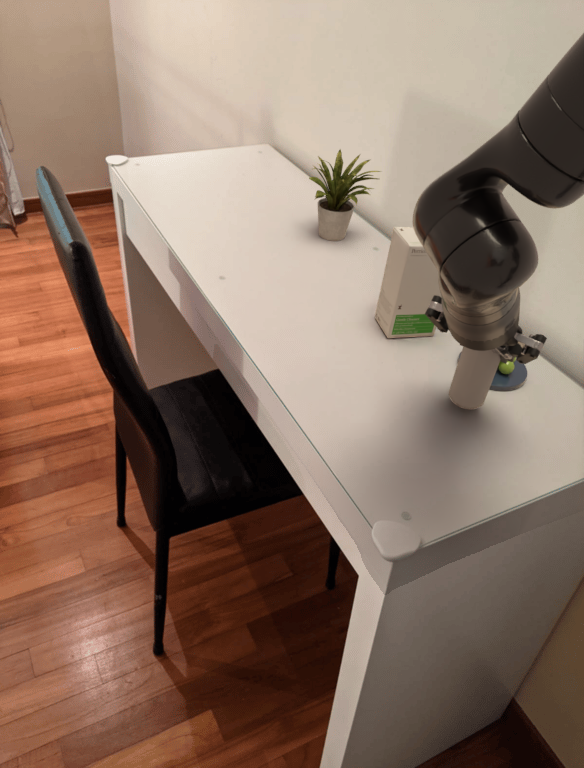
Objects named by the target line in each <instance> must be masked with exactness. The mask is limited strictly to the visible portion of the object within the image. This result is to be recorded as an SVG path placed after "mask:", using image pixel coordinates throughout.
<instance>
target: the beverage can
mask: <svg viewBox="0 0 584 768" xmlns="http://www.w3.org/2000/svg"><path fill="white" fill-rule="evenodd" d="M461 351H462V352H461ZM461 351H460V352H461V355H460V358H459V361H458V364H457V365H456V368H455V371H454V374H453V377H452V380H451V383H450V386H449V389H448V397H449V399H450V400H451V402H452V404H454V405H456V406H457V407H459V408H461V409H465V410H476V409H479V408H481V407H482V406H484V403H485V401H486V398H487V396H488V393H489V392H490V390H491V389H490V386H491V383H492V381H493V378H494V376H495V373H496V370H497V368H498V365H499V363H500V360H501V358H500V355H499V354H496V353H493V352H492V351H491V350H487V351H477V350H472V349H469V348H466V347H464V346H462V349H461Z"/></svg>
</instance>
